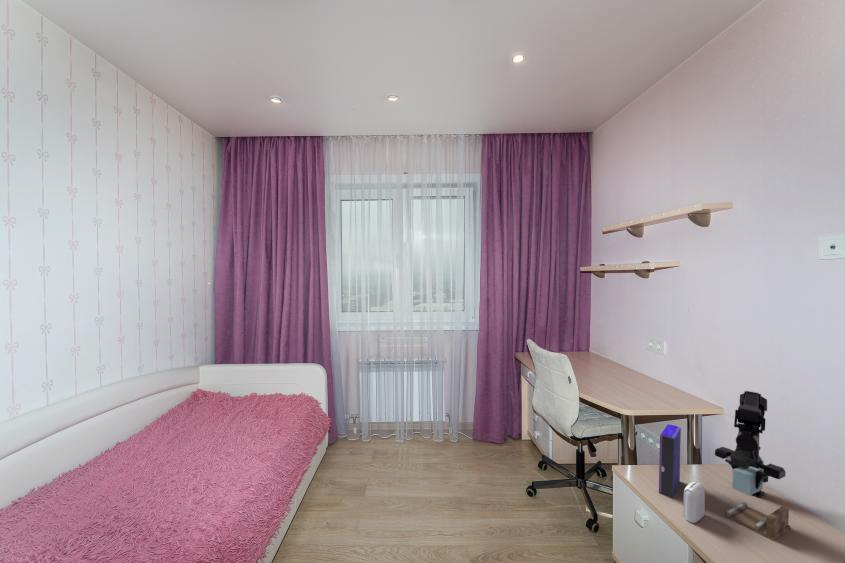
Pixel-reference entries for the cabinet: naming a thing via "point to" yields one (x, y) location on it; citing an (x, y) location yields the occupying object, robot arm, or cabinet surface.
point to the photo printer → (694, 502)
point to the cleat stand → (760, 520)
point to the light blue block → (745, 480)
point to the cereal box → (669, 460)
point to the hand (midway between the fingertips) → (747, 484)
